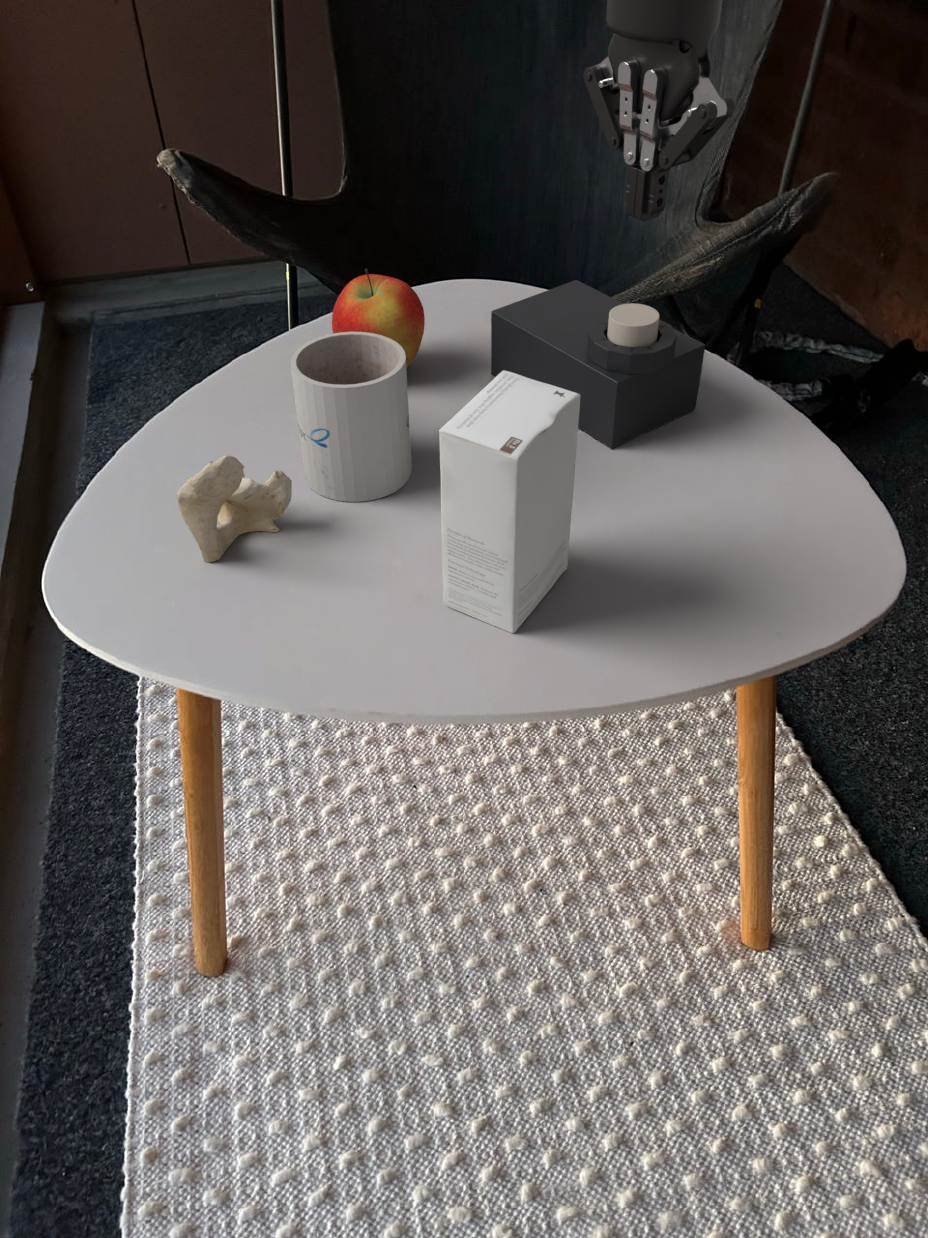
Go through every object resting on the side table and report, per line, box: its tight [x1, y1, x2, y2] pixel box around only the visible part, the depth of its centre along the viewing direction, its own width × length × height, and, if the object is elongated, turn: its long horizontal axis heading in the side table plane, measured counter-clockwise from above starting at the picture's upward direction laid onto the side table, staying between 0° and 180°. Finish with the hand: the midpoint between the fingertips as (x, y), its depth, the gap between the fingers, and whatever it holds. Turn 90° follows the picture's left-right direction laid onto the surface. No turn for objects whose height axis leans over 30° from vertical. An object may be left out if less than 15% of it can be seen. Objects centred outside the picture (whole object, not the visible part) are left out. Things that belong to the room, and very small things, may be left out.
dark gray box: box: [490, 279, 706, 450], centre depth 94 cm, size 17×10×8 cm, turn 37°
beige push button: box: [607, 303, 660, 347], centre depth 87 cm, size 4×4×2 cm
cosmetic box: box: [438, 371, 580, 634], centre depth 71 cm, size 8×6×15 cm
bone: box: [176, 454, 293, 563], centre depth 79 cm, size 9×6×10 cm
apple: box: [331, 268, 426, 369], centre depth 96 cm, size 8×8×10 cm
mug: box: [289, 332, 413, 503], centre depth 86 cm, size 12×9×10 cm
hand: (643, 215), depth 81 cm, fingers closed
